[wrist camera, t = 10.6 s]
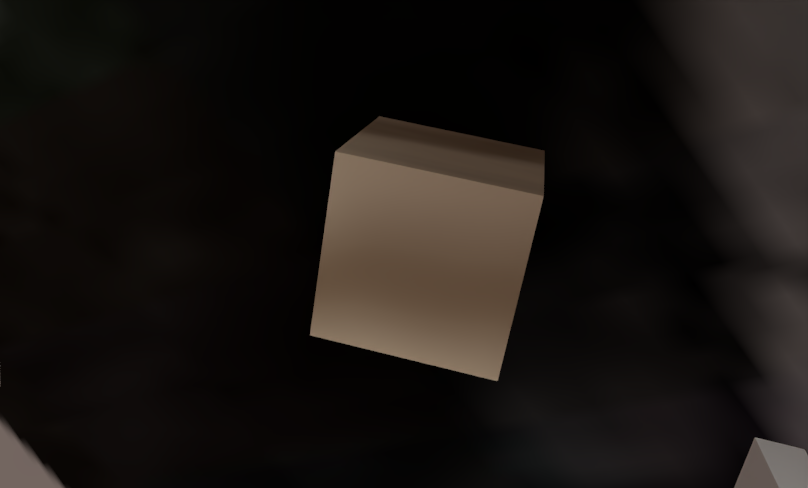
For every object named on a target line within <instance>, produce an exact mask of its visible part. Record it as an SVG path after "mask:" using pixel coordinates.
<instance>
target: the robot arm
mask: <svg viewBox="0 0 808 488" xmlns="http://www.w3.org/2000/svg"><path fill="white" fill-rule="evenodd" d="M734 488H808V455H807V453H806V451H805V449H801V448H797V447H793V446H789V445H785V444H781V443H776V442H772V441H768V440H764V439H760V438H756V437H755V438H754V440H753V443H752V445H751V448H750V450H749V453H748V455H747V457H746V460H745V462H744V465H743V467H742V470H741V472H740V475H739V477H738V479H737V482H736V484H735V487H734Z"/></svg>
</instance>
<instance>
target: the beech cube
mask: <svg viewBox="0 0 808 488" xmlns="http://www.w3.org/2000/svg"><path fill="white" fill-rule="evenodd" d="M544 163H545V151H544V150H539V149H534V148H530V147H525V146H520V145H515V144H510V143H506V142H501V141H496V140H491V139H486V138H482V137H477V136H472V135H467V134H462V133H457V132H453V131H448V130H443V129H438V128H433V127H429V126H424V125H419V124H414V123H409V122H405V121H400V120H395V119H390V118H385V117H380V116H379V117H378V118H377V119H375V120H374V121H373V122H372V123H370V124H369V125H368V126H367V127H365V128H364V129H363V130H362V131H360V132H359V133H358V134H357V135H355V136H354V137H353V138H351V139H350V140H349V141H348V142H346V143H345V144H344V145H343V146H341V147H340V148H339V149H338V150H336V151H335V157H334V164H333V171H332V178H331V186H330V193H329V200H328V207H327V215H326V222H325V229H324V236H323V244H322V251H321V258H320V265H319V273H318V280H317V287H316V294H315V302H314V309H313V316H312V323H311V331H310V335H311V336H315V337H319V338H323V339H327V340H331V341H335V342H340V343H344V344H348V345H352V346H356V347H360V348H364V349H368V350H372V351H376V352H380V353H384V354H388V355H393V356H397V357H401V358H405V359H409V360H413V361H417V362H421V363H425V364H429V365H433V366H437V367H442V368H446V369H450V370H454V371H458V372H462V373H466V374H470V375H474V376H478V377H482V378H486V379H490V380H495V381H498V377H499V373H500V369H501V365H502V361H503V357H504V353H505V349H506V345H507V341H508V337H509V333H510V329H511V325H512V321H513V317H514V313H515V309H516V305H517V301H518V297H519V293H520V289H521V285H522V281H523V277H524V273H525V269H526V265H527V261H528V257H529V253H530V249H531V245H532V241H533V237H534V233H535V229H536V225H537V221H538V217H539V213H540V209H541V205H542V201H543V197H544Z"/></svg>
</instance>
